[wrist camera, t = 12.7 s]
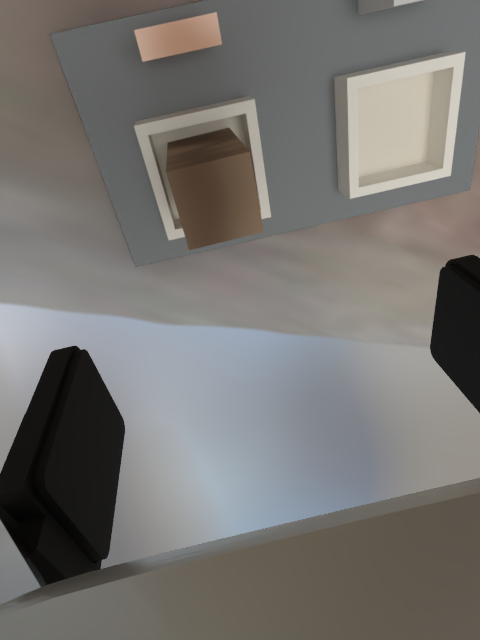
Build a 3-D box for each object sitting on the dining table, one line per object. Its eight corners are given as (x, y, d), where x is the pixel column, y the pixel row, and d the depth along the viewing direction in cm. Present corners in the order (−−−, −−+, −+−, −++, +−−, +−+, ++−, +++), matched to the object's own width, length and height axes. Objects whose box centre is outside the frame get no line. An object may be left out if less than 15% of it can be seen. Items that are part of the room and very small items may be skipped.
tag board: (497, -62, 25) (540, -78, 22) (462, 186, 34) (489, 198, 31) (53, 35, 25) (37, 31, 22) (136, 261, 34) (133, 280, 31)
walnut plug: (229, 127, 28) (249, 151, 21) (241, 190, 30) (263, 231, 23) (167, 142, 28) (165, 172, 20) (184, 204, 30) (189, 250, 23)
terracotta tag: (208, 20, 25) (216, 12, 21) (213, 47, 25) (222, 44, 21) (140, 35, 25) (133, 30, 20) (147, 61, 25) (142, 61, 21)
